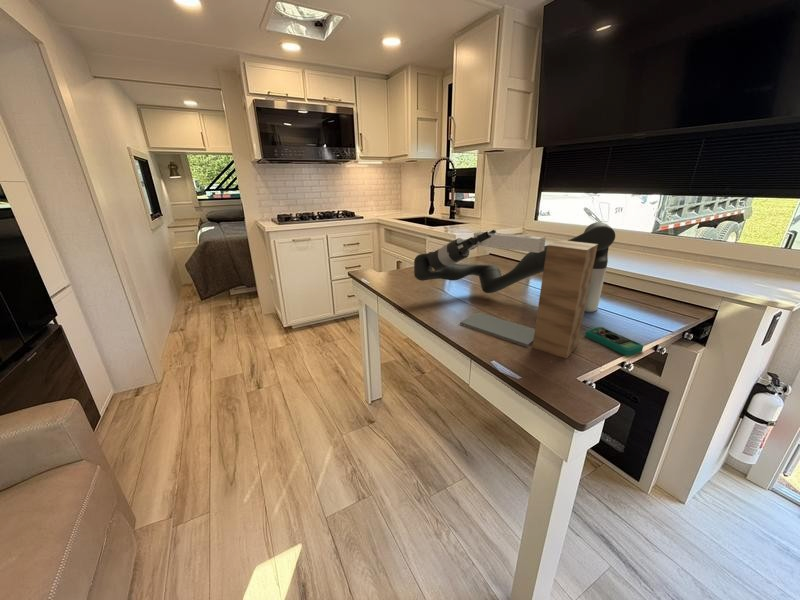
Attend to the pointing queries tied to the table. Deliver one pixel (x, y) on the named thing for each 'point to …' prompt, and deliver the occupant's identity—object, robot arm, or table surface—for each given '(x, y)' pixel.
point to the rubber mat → (501, 328)
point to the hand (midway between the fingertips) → (492, 233)
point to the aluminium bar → (513, 242)
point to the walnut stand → (563, 296)
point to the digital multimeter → (614, 341)
